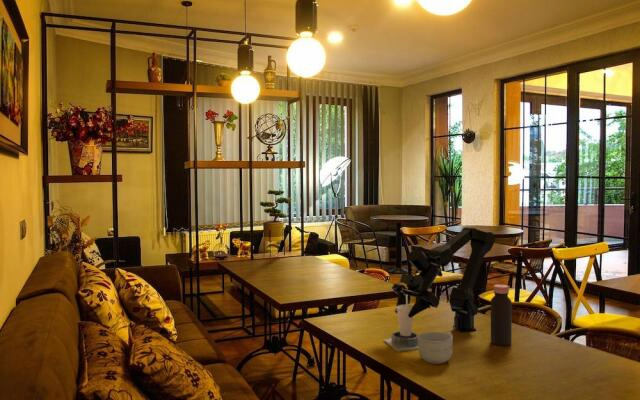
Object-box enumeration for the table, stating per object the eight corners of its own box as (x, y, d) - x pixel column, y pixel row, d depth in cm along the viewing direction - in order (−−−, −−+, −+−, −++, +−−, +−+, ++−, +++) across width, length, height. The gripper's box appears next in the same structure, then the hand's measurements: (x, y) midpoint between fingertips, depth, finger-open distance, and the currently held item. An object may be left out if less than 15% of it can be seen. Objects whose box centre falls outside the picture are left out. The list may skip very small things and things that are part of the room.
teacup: (432, 369, 150) (432, 343, 150) (410, 358, 159) (410, 333, 159) (467, 361, 156) (467, 335, 156) (443, 350, 166) (443, 326, 166)
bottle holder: (412, 338, 179) (412, 329, 179) (427, 347, 169) (427, 338, 168) (384, 341, 176) (384, 332, 176) (397, 351, 165) (397, 341, 165)
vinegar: (514, 342, 173) (514, 285, 172) (506, 347, 168) (506, 288, 167) (495, 338, 177) (495, 282, 176) (487, 343, 172) (487, 286, 171)
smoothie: (414, 338, 168) (413, 297, 168) (395, 336, 170) (394, 296, 169) (415, 332, 174) (415, 292, 174) (397, 330, 176) (397, 291, 176)
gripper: (395, 261, 181) (372, 295, 176) (432, 268, 165) (408, 306, 160) (411, 279, 186) (389, 314, 180) (449, 288, 170) (426, 326, 165)
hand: (402, 314), depth 171 cm, fingers closed on smoothie, 6 cm apart
